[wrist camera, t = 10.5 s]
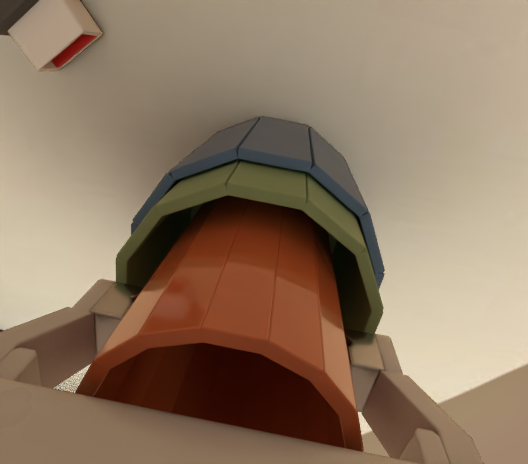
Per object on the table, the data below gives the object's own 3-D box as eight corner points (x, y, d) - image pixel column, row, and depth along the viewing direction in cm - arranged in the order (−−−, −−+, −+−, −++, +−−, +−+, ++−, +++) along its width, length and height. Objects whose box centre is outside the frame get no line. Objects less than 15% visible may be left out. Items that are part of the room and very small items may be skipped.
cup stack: (194, 102, 19) (95, 138, 10) (375, 138, 19) (445, 208, 10) (182, 258, 24) (105, 384, 14) (328, 288, 23) (347, 434, 14)
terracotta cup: (197, 166, 15) (64, 299, 7) (346, 196, 15) (405, 367, 7) (186, 289, 18) (83, 492, 9) (311, 314, 18) (320, 541, 9)
